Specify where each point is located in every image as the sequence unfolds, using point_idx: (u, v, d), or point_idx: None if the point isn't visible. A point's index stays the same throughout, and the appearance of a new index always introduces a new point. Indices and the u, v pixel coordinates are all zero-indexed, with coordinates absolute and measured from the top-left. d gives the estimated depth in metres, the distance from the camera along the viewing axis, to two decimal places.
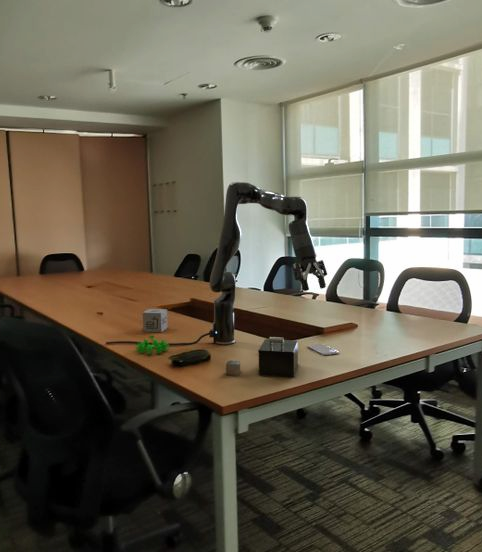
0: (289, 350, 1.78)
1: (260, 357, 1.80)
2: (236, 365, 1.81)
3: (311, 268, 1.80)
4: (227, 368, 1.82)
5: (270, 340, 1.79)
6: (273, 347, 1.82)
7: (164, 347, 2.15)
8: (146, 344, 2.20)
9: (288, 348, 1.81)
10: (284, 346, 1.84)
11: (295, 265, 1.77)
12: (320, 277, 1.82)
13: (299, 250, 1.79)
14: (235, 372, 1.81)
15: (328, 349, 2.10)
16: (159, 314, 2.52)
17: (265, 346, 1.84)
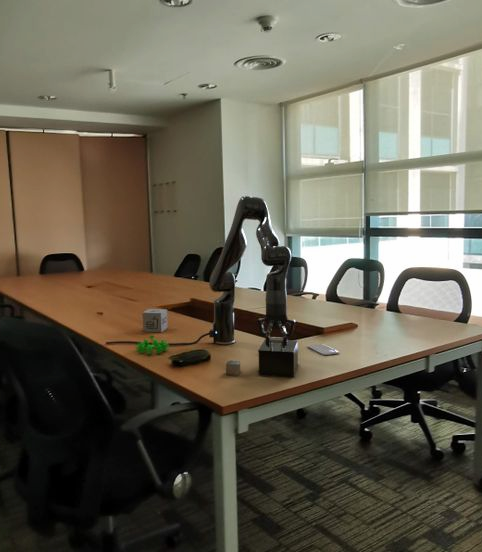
0: (289, 350, 1.78)
1: (260, 357, 1.80)
2: (236, 365, 1.81)
3: (275, 325, 1.77)
4: (227, 368, 1.82)
5: (270, 340, 1.79)
6: (273, 347, 1.82)
7: (164, 347, 2.15)
8: (146, 344, 2.20)
9: (288, 348, 1.81)
10: None
11: None
12: (283, 336, 1.78)
13: (266, 305, 1.78)
14: (235, 372, 1.81)
15: (328, 349, 2.10)
16: (159, 314, 2.52)
17: (265, 346, 1.84)
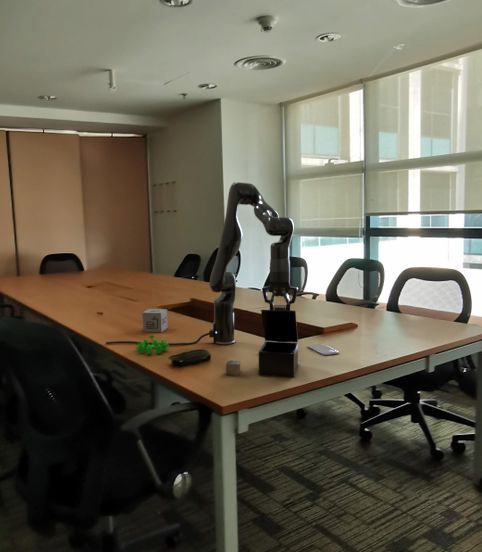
0: None
1: (260, 357, 1.80)
2: (236, 365, 1.81)
3: (279, 292, 1.87)
4: (227, 368, 1.82)
5: (274, 305, 1.87)
6: None
7: (164, 347, 2.15)
8: (146, 344, 2.20)
9: None
10: None
11: None
12: None
13: (270, 273, 1.87)
14: (235, 372, 1.81)
15: (328, 349, 2.10)
16: (159, 314, 2.52)
17: None
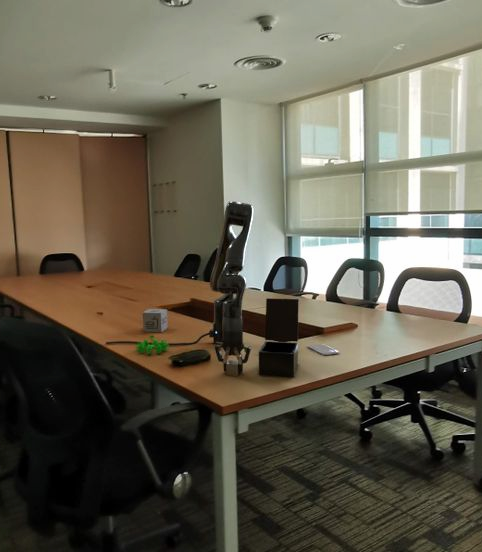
0: None
1: (260, 357, 1.80)
2: (236, 365, 1.81)
3: (232, 351, 1.82)
4: (227, 368, 1.82)
5: None
6: None
7: (164, 347, 2.15)
8: (146, 344, 2.20)
9: None
10: None
11: None
12: (239, 363, 1.82)
13: (222, 332, 1.82)
14: (235, 372, 1.81)
15: (328, 349, 2.10)
16: (159, 314, 2.52)
17: None
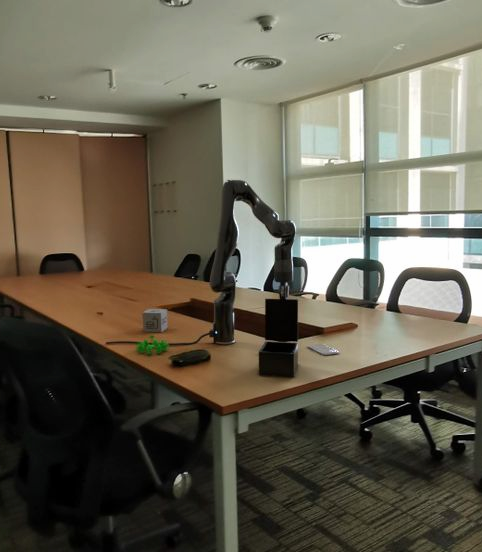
0: None
1: (260, 357, 1.80)
2: None
3: None
4: None
5: None
6: None
7: (164, 347, 2.15)
8: (146, 344, 2.20)
9: None
10: None
11: (283, 295, 1.94)
12: None
13: (285, 274, 1.95)
14: None
15: (328, 349, 2.10)
16: (159, 314, 2.52)
17: None
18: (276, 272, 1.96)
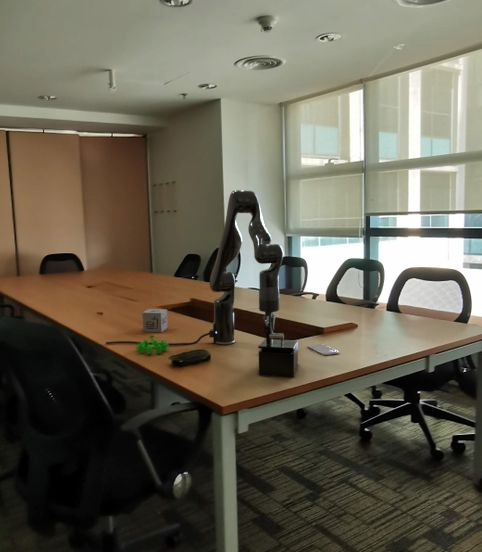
0: (289, 346, 1.78)
1: (260, 357, 1.80)
2: None
3: None
4: None
5: (270, 336, 1.79)
6: (273, 344, 1.82)
7: (164, 347, 2.15)
8: (146, 344, 2.20)
9: (288, 345, 1.81)
10: (284, 344, 1.84)
11: (268, 325, 1.78)
12: None
13: (270, 303, 1.79)
14: None
15: (328, 349, 2.10)
16: (159, 314, 2.52)
17: (265, 343, 1.84)
18: (261, 300, 1.80)
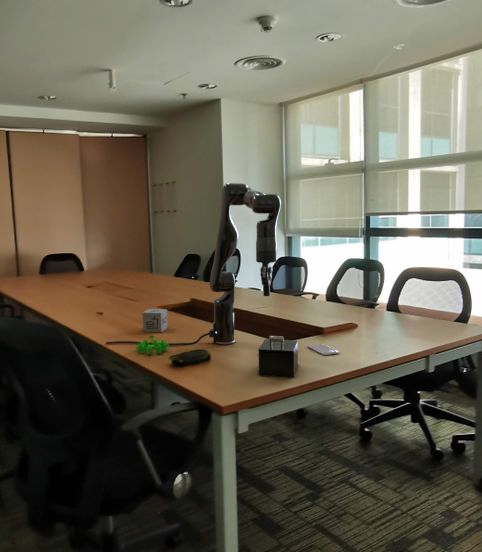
0: (289, 349, 1.78)
1: (260, 357, 1.80)
2: None
3: None
4: None
5: (270, 339, 1.79)
6: (273, 346, 1.82)
7: (164, 347, 2.15)
8: (146, 344, 2.20)
9: (288, 347, 1.81)
10: (284, 345, 1.84)
11: (265, 275, 1.75)
12: None
13: (267, 253, 1.76)
14: None
15: (328, 349, 2.10)
16: (159, 314, 2.52)
17: (265, 345, 1.84)
18: (258, 251, 1.78)
